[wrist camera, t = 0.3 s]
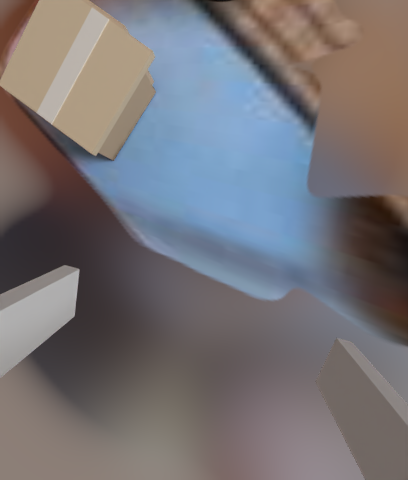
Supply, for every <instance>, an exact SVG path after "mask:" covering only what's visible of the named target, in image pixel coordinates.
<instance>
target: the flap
mask: <svg viewBox="0 0 408 480" xmlns="http://www.w3.org/2000/svg"><path fill="white" fill-rule="evenodd" d="M154 58H155V55H154V53H153V51H152V50H151V49H149V48H148V47H146V46H145V45H144V44H142V43H141V42H139V41H138V40H137V39H135V38H134V37H132V36H131V35H130V34H128V33H127V32H125V31H124V30H123V29H121V28H120V27H118V26H117V25H116V24H114V23H113V22H111V21H110V20H109V19H108V18H106V17H105V16H104V15H102V14H101V13H99V12H98V11H97V10H95V9H94V8H92V7H90V6H89V5H88V4H86V3H85V2H83V1H82V0H39V2H38V4H37V6H36V8H35V10H34V12H33V14H32V16H31V18H30V20H29V22H28V24H27V26H26V28H25V31H24V33H23V35H22V37H21V39H20V41H19V43H18V45H17V47H16V49H15V51H14V53H13V55H12V57H11V59H10V61H9V63H8V65H7V67H6V70H5V72H4V74H3V76H2V78H1V80H0V86H1V87H3V88H4V89H5V90H7V91H8V92H9V93H11V94H12V95H13V96H15V97H16V98H17V99H19V100H20V101H21V102H23V103H24V104H25V105H27V106H28V107H29V108H31V109H32V110H33V111H35V112H36V113H37V114H39V115H40V116H41V117H43V118H44V119H45V120H47V121H48V122H49V123H51V124H52V125H54V126H55V127H56V128H58V129H59V130H60V131H62V132H63V133H64V134H66V135H67V136H68V137H70V138H71V139H72V140H74V141H75V142H76V143H78V144H79V145H80V146H82V147H83V148H84V149H86V150H87V151H88V152H90V153H91V154H93V155H95V156H96V155H97V153H98V152H99V150H100V148H101V147H102V145H103V143H104V142H105V140H106V138H107V137H108V135H109V133H110V132H111V130H112V128H113V127H114V125H115V123H116V122H117V120H118V118H119V117H120V115H121V113H122V112H123V110H124V108H125V107H126V105H127V103H128V102H129V100H130V98H131V96H132V95H133V93H134V91H135V90H136V88H137V86H138V85H139V83H140V81H141V80H142V78H143V76H144V75H145V73H146V71H147V70H148V68H149V66H150V65H151V63H152V61H153V60H154Z"/></svg>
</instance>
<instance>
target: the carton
mask: <svg viewBox="0 0 408 480" xmlns="http://www.w3.org/2000/svg"><path fill="white" fill-rule="evenodd" d="M82 1H83V2H85V3H86V4H88V5H89V6H90V7H92V8H94V9H95V10H97V11H98V12H99V13H101V14H102V15H104V16H105V17H106V18H108V19H109V20H110V21H111V22H113V23H114V24H116V25H117V26H118V27H120V28H121V29H123V30H124V31H125V32H127V33H128V34H129V32H128V31H127V29H126V27H125V26H124V25H123V24H122V23H120V22H119V21H117V20H116V19H114V18H113V17H112V16H110V15H109V14H107V13H106V12H105V11H103V10H102V9H100V8H99V7H98V6H96V5H95V4H93V3H92V2H91V1H89V0H82ZM153 83H154V81H153V79H152V77H151V75H150V73H149V71H148V70H147V71H146V73H145V75H144V76H143V78H142V80H141V81H140V83H139V85H138V86H137V88H136V90H135V91H134V93H133V95H132V96H131V98H130V100H129V102H128V103H127V105H126V107H125V108H124V110H123V112H122V113H121V115H120V117H119V118H118V120H117V122H116V123H115V125H114V127H113V128H112V130H111V132H110V133H109V135H108V137H107V138H106V140H105V142H104V143H103V145H102V147H101V148H100V150H99V152H98V153H100V154H102V155H104V156H106V157H107V158H109V159H111V160H113V161H114V159H115V158H116V156H117V154H118V153H119V151H120V150H121V148H122V146H123V145H124V143H125V141H126V140H127V138H128V137H129V135H130V133H131V132H132V130H133V128H134V127H135V125H136V124H137V122H138V120H139V119H140V117H141V115H142V114H143V112H144V111H145V109H146V107H147V106H148V104H149V102H150V101H151V99H152V98H153V96H154V94H155V93H156V91H155V90H154V88H153V86H152V84H153ZM6 91H7V90H6ZM7 92H8V91H7ZM10 94H11V93H10ZM11 95H12V94H11ZM14 97H15V96H14ZM15 98H16V97H15ZM18 100H19V99H18ZM19 101H20V100H19ZM22 103H23V102H22ZM23 104H24V103H23ZM26 106H27V105H26ZM27 107H28V106H27ZM30 109H31V108H30ZM31 110H32V109H31ZM34 112H35V111H34ZM35 113H36V112H35ZM38 115H39V114H38ZM39 116H40V115H39ZM42 118H43V117H42ZM43 119H44V118H43ZM46 121H47V120H46ZM47 122H48V121H47ZM50 124H51V123H50ZM51 125H52V124H51ZM53 126H54V125H53ZM54 127H55V126H54ZM55 128H56V127H55ZM57 129H58V128H57ZM58 130H59V129H58ZM59 131H60V130H59ZM61 132H62V131H61ZM62 133H63V132H62ZM63 134H64V133H63ZM65 135H66V134H65ZM66 136H67V135H66Z"/></svg>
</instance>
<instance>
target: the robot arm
mask: <svg viewBox="0 0 408 480" xmlns="http://www.w3.org/2000/svg"><path fill="white" fill-rule="evenodd" d="M218 1H226V0H218ZM78 277H79V269H77V268H73V267H69V266H66V265H64V266H62V267H60V268H58V269H56V270H53V271H51V272H49V273H47V274H45V275H42V276H40V277H38V278H36V279H34V280H31V281H29V282H27V283H25V284H23V285H20V286H18V287H16V288H14V289H11V290H9V291H7V292H5V293H3V294H0V378H1V377H2V376H3V375H4V374H5V373H7V372H8V371H9V370H10V369H11V368H13V367H14V366H15V365H16V364H18V363H19V362H20V361H21V360H22V359H24V358H25V357H26V356H27V355H28V354H30V353H31V352H32V351H33V350H34V349H35V348H37V347H38V346H39V345H40V344H42V343H43V342H44V341H45V340H46V339H48V338H49V337H50V336H51V335H52V334H54V333H55V332H56V331H57V330H58V329H60V328H61V327H62V326H63V325H64V324H66V323H67V322H68V321H69V320H70V319H72V318H73V317H74V316H75V306H76V297H77V287H78ZM316 384H317V386H318V388H319V390H320V392H321V394H322V396H323V398H324V400H325V402H326V404H327V405H328V408H329V409H330V411H331V413H332V415H333V417H334V419H335V421H336V423H337V425H338V427H339V429H340V431H341V433H342V435H343V437H344V439H345V441H346V443H347V445H348V447H349V449H350V451H351V453H352V455H353V457H354V458H355V460H356V463H357V464H358V466H359V468H360V470H361V472H362V474H363V476H364V478H365V480H408V404H407V403H406V402H405V401H404V400H403V399H402V398H401V396H400V395H399V394H398V393H397V392H396V391H395V390H394V389H393V388H392V386H391V385H390V384H389V383H388V382H387V381H386V380H385V379H384V377H383V376H382V375H381V374H380V373H379V372H378V371H377V370H376V369H375V367H374V366H373V365H372V364H371V363H370V362H369V361H368V360H367V359H366V357H365V356H364V355H363V354H362V353H361V352H360V351H359V350H358V348H357V347H356V346H355V345H354V344H353V343H352V342H350V341H346V340H342V339H339V338H336V340H335V342H334V344H333V346H332V348H331V350H330V352H329V355H328V357H327V359H326V361H325V363H324V365H323V367H322V369H321V371H320V373H319V376H318V378H317V380H316Z"/></svg>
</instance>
